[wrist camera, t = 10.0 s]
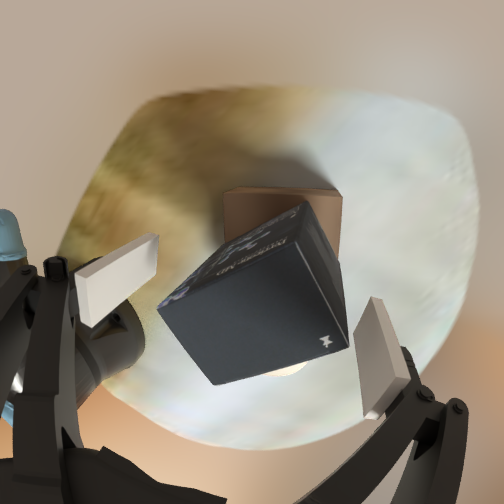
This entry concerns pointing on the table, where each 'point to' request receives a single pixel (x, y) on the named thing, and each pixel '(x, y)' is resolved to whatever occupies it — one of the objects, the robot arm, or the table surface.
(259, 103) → the table surface
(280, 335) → the box
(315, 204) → the block
